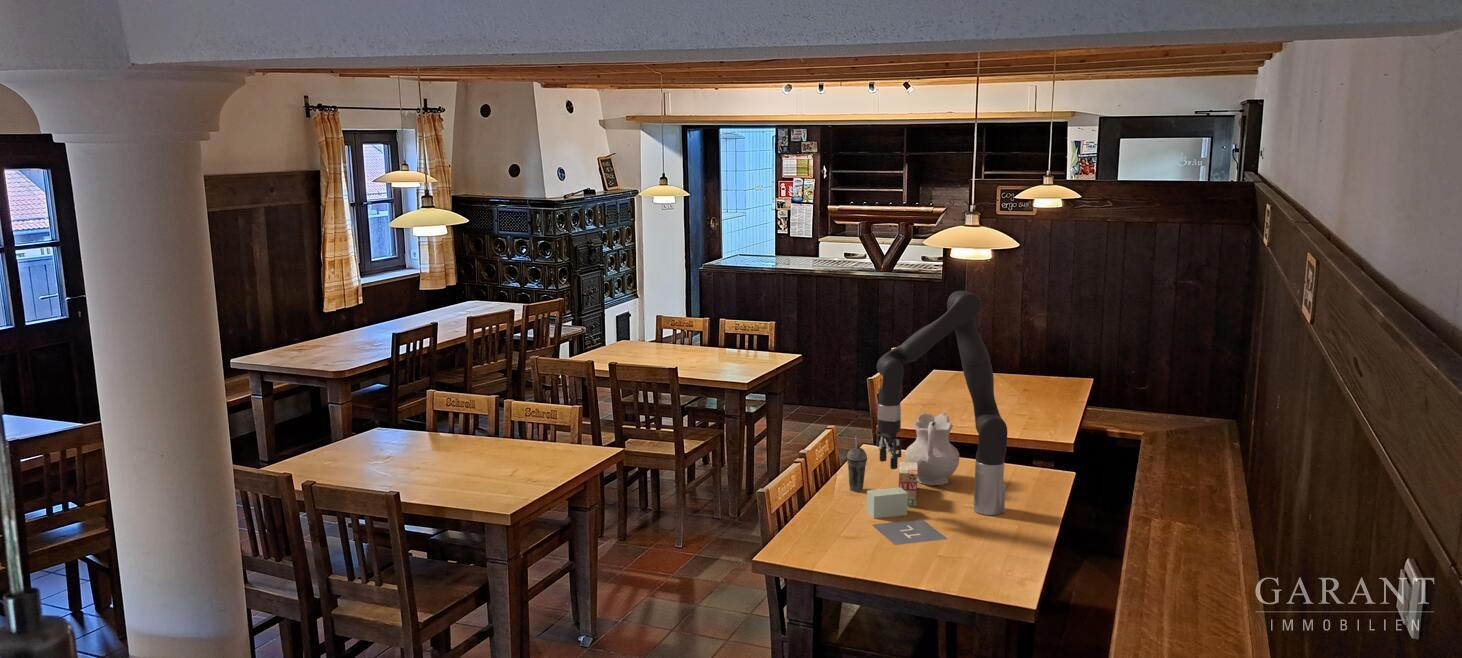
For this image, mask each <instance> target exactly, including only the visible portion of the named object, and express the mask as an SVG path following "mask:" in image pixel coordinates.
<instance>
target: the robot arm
mask: <svg viewBox="0 0 1462 658" xmlns="http://www.w3.org/2000/svg"><path fill="white" fill-rule="evenodd" d="M946 308H947V311H945V313H944V314H942V315H941V316H940V317H939V318H937V319H936V320H934V321H932V322H931V323H929V324H927V325H925V326H923V327H922V328H920V329H918V330H917V331H916V332H914V333H913V334H911V335H910V336H909V337H908V338H906V340H905V341H904V342H902V344H900V345H898V346H896V347H894V348H893V349H891V350H890V351H887V352H886V353H885V354H883V355H882V356H881V357H880V358H878V361H877V363H876V371H877V372H878V373H879V375H880V376H882V382H881V383H882V385H881V386H880V387H879V389H878V403H877V404H878V406H877V424H876V425H877V427H876V428H877V429H876V445H875V446H876V448H878V450H879V462H883V463H884V462H886V461H887V457H888V455H887V453H889V456H890V460H889V461H890V469H891V470H897V469H898V462H899V461H898V459H899V458H902V439H901V438H897V437H898V436H897V434H898V433H900V432H901V428H902V425H901V424H902V422H901V421H902V407H901V391H902V390H901V389H902V385H903V380H904V374H905V373H904V371H905V370H904V365H906V364H908V363H913V362H915V361H917V360H918V359H919V358H921V357H922V356H923V355H924V354H926V353H927V352H928V351H930V350H931V348H933V347H934V346H935V345H936V344H937V343H939V342H940V341H941V340H943V339H944V338H945V337H947V336H948V335H950V334H951V333H952V332H954V333H955V337H956V341H957V347H958V351H959V357H960V361H961V366H962V372H963V375H964V379H965V382H966V386H967V389H968V392H969V394H970V397H971V400H972V407H973V413H974V422H975V423H974V424H975V430H976V432H977V434H978V443H977V451H976V452H975V453H976V454H975V466H974V467H975V468H974V470H975V472H974V491H973V511H974V512H975V513H977V514H981V515H984V516H996V515H1000V514H1002V513H1005V509H1006V508H1005V507H1006V506H1005V504H1006V488H1007V487H1006V486H1007V485H1006V484H1005V483H1004V475H1005V474H1004V473H1005V472H1004V471H1005V458H1006V454H1007V446H1008V426H1007V424H1006V421H1004V419H1003V418H1002V416H1001V414H1000V411H999V409H998V405H997V402H996V398H995V392H994V387H995V384H994V379H995V378H994V370H993V366H992V362H991V357H990V355H989V351H988V349H987V347H986V344H985V343H984V341H983V339H982V337H981V335H980V332H979V331H978V328H977V323H976V318H977V317H978V315H979V314H980V313H981V310H982V301H981V299H980V298H979V296H977V295H976V294H974V293H972V292H969V291H965V290H956V291H954V292H952V293H951V294H950V295H949V297H948V298H947V302H946Z"/></svg>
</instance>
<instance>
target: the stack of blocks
mask: <svg viewBox="0 0 1462 658" xmlns="http://www.w3.org/2000/svg"><path fill="white" fill-rule="evenodd" d="M898 468H899V469H898V470H899V471H898V488H899V487H900V488H902V489H903V490H904V491H906V492H907V493H908V506H912V507H917V496H918V482H917V477H918V466H917V462H906V461H899V467H898Z"/></svg>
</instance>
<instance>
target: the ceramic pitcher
mask: <svg viewBox="0 0 1462 658" xmlns="http://www.w3.org/2000/svg"><path fill="white" fill-rule="evenodd" d="M938 414H939V415H937V416H934V415H932V414H931V413H926V412H923V413H921V414H920V415H919V417H918V418H917V420H916V421H913V428H914V429H915V433H916V439H915V441H913V443H911V444H910V445H909V446H907V448H906V450H905V453H904V460H905V462H917V466H918V477H917V481H918V482H917V483H919V484H921V483H923V484H922V485H924V484H926V485H925V486H933V485H939V486H943V485H948V483H949V480H948V478H947V477H950V476H952V475H953V474H954V473H955V472H956V471H957V469H958V466H959V463H960V453H959V451H958V449H957V448H956V447H955V445H954V446H953V444H951V443H950V441H949V436H950V433H951V431H952V429H953V427H954V426H953V424H952V422H950V420H951V419H950V417H949V415H948V414H946V413H945V412H941V411H940V412H938Z"/></svg>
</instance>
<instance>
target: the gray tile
mask: <svg viewBox="0 0 1462 658" xmlns="http://www.w3.org/2000/svg"><path fill="white" fill-rule="evenodd" d="M871 526H872V527H874V529H876V530H877V531H878V532H879V533H880V534H881V535H883V536H884V537H885V538H886V539H887V540H888V541H890V542H891V543H892V544H893V545H894V546H898V545H907V544H916V543H917V544H918V543H925V542H933V541H943V540H948V538H947V537H946V536H945V535H943V534H942V533H941V532H940V531H938V530H937V529H935V527H933V526H931V525H930V524H929V522H926V521H925V520H924V519H923V518H922V519H912V520H903V521H902V520H901V521H894V522H884V523H882V522H881V523H875V524H871Z"/></svg>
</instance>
